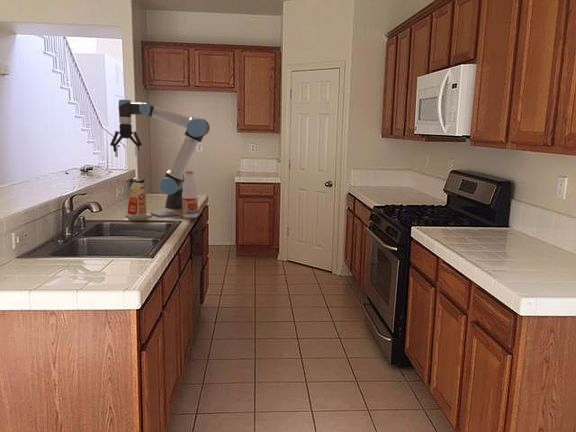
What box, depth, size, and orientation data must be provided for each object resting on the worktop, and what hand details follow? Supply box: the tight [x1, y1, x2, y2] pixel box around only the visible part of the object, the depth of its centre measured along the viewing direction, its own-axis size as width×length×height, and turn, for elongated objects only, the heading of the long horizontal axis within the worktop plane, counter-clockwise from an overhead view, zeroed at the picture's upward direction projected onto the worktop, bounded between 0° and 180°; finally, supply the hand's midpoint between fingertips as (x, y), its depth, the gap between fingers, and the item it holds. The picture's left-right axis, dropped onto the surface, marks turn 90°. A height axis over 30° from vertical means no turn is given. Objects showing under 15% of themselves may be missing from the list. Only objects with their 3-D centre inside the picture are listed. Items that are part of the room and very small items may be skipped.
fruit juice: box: [181, 170, 199, 219], centre depth 297 cm, size 9×9×28 cm
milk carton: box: [126, 181, 148, 216], centre depth 295 cm, size 9×9×20 cm
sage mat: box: [124, 213, 153, 220], centre depth 298 cm, size 12×12×1 cm
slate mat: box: [150, 210, 178, 218], centre depth 304 cm, size 12×12×1 cm
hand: (126, 156), depth 319 cm, fingers open, 13 cm apart
